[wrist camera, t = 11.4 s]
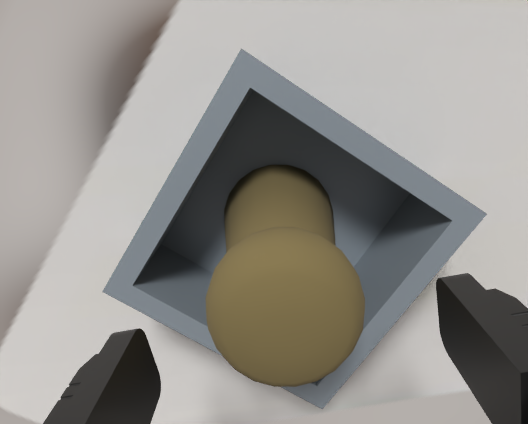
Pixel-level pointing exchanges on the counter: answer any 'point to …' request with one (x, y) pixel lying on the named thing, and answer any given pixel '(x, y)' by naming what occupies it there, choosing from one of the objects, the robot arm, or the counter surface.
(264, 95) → the crate
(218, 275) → the cork
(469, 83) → the counter surface
